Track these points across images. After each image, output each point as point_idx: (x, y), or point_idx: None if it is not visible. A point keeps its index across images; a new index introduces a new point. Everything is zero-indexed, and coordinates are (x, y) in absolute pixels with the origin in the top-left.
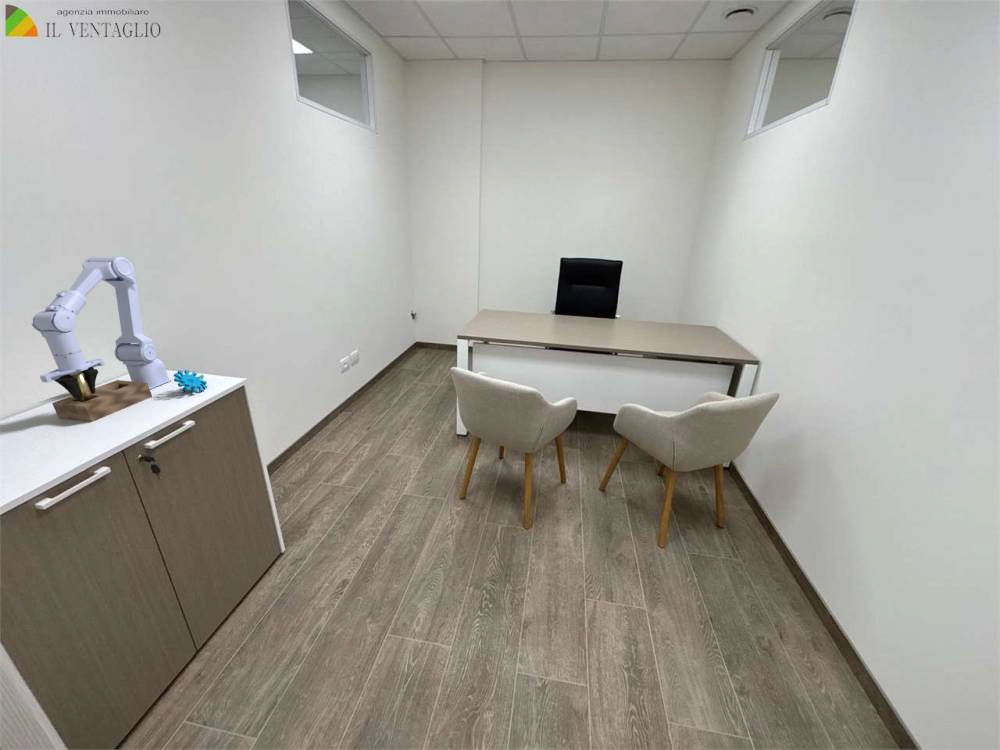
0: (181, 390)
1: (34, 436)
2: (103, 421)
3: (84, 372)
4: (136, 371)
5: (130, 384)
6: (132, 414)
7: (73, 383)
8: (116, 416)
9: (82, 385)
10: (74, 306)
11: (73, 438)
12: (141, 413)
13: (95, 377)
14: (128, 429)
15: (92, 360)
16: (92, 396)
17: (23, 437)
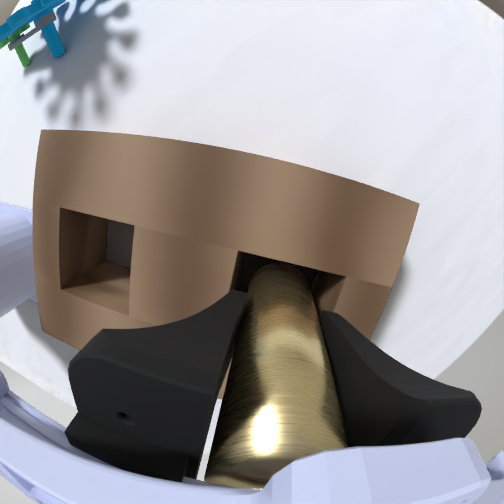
0: (60, 54)
1: (456, 312)
2: (375, 140)
3: (200, 454)
4: None
5: (59, 210)
6: (299, 56)
7: (413, 379)
8: (323, 116)
9: (312, 351)
10: None
11: (491, 158)
12: (288, 27)
13: (169, 327)
14: (426, 9)
15: (5, 474)
16: (266, 283)
17: (451, 338)
